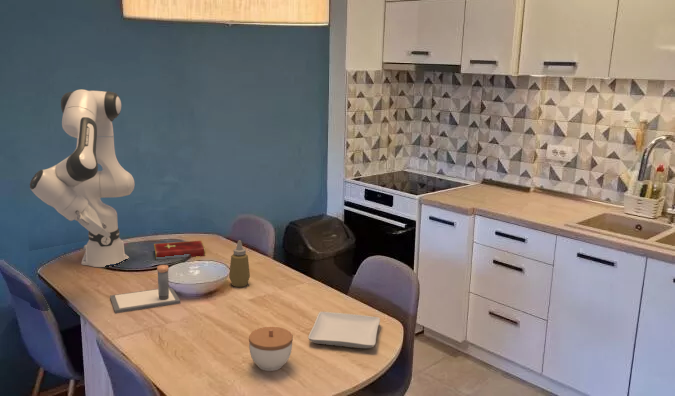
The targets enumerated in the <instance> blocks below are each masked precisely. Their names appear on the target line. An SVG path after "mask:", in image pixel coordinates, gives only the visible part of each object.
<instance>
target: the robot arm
mask: <svg viewBox="0 0 675 396" xmlns="http://www.w3.org/2000/svg"><path fill="white" fill-rule="evenodd" d="M60 108H61V112H62V119H61V127H62V130H63V131H64V132H65V133H66V134H67V135H68V136H69V137H72V138H75V139H76V146H75V147H76V148H75V149H74V151H73V152H72V153H71V154H70V155H69V156H67V157H65V158H64V159H63V160H61V161H60V162H58V163H56V164H54V165H53V166H50V167H49V168H46V169H40V170H38V171H37V172H35V174H34V175H33V177H31V180H30V181H29V182H30V183H29V190H31V191H32V193H33V194H34V195H35V197H37V198H38V199H39V200H41V201H42V202H43V203H44V204H46V205H48V206H50V207H51V208H54V209H55V210H56V212H57V213H58V214H60V215H61V216H63V217H64V219H67V220H68V221H69V222H72V221H74V220H75V221H76V222H78V223H79V224H80V225H81V226H82V227H83V228H85V230H87V232H88V233H87V234H88V241H87V242H86V244H84V245H83V251H85V252H84V255H83V256H82V258H81V259H82V260H81V262H80V263H81V264H80V265H82V266H90V267H95V268H106V267H105V266H106V265H110V264H116V263H119V262H121V261H123V260H125V259H128V258H129V259H130V257H129V256H128V255H127V254H126V253H125V244H124V241H123V240H122V239H121V238H120V228H119V226H118V225H119V224H118V211H117V209H115V208H114V207H113V206H111V205H109V204H107V203H104V202H103V201H102V198H121V197H122V198H123V197H125V196H126V197H127V196H129V195H131V194H132V192H134V190H135V182H136V181H135V179H134V177H133V175H132V173H130V172H129V171H127V170H126V169H124V167H123V166H121V164H120V162H119V161H118V159H117V155H116V149H115V138H114V137H115V135H114V126H113V122H114V120H115V119H117V118H118V117H119V115H120V114H121V110H122V101H121V98H120V96H119V95H118V94H117V92H114V91H109V90H108V91H101V90H87V89H76V90H74V91H68V92H66V93H64V94H63V95H62V97H61V100H60ZM99 165H100V166H101V168H102V170H99ZM129 259H128V260H129ZM123 262H124V261H123Z"/></svg>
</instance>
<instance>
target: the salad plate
mask: <svg viewBox="0 0 675 396" xmlns="http://www.w3.org/2000/svg"><path fill="white" fill-rule="evenodd" d="M380 323H381V317H378V316H370V315H362V314H356V313H353V314H352V313H344V312H343V313H342V312H333V311H332V312H330V311H319V312H318V313H317V317H316V319H315V321H314V324H313V325H312V328H311V330H310V332H309V334H308V336H307V338H308V340H309V341H311V342H312V343H315V344H317V345H318V344H321V345H325V344H326V346H333V345H335V346H334V347H342V346H346V347H345V348H352V347H357V348H356V349H372V348H374V346H376V342H377V335H378V329H379V327H380Z"/></svg>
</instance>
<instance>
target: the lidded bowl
mask: <svg viewBox="0 0 675 396" xmlns="http://www.w3.org/2000/svg"><path fill="white" fill-rule="evenodd" d="M293 338H294V337H293V334H292V332H291V331H290V330H288V329H286V328H283V327H279V326H265V327H260V328H257V329H255V330H253V331H252V332H250V334H249V335H248V341H249V354H250V356H251V359H252V361H253V362H254V364H255V365H256V366H258V368H259V369H260V370H261V371H262V370H263V371H265V372H274V371H279V370H280V369H282V368H283V366H284V365H285V364H286V363H287V362H288V361H289V359H290V356H291V353H292V350H293V340H294V339H293Z"/></svg>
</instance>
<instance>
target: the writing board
mask: <svg viewBox="0 0 675 396" xmlns="http://www.w3.org/2000/svg"><path fill="white" fill-rule="evenodd" d="M170 287H171V286H169V298H168V299H166V300H160V299H159V295H158V288H152V289H146V290H139V291H134V292H133V291H132V292H125V293H118V294H111V295H109V299H110V301H111V304H112V307H113V310H114V313H115V314H119V313H121V314H122V313H125V312H132V311H139V310H146V309H153V308H159V307H166V306H172V305H178V304H181V299H180V298H179V296H178V293H176V291H175V290H174V288H173V287H172V288H173V289H172V288H170Z"/></svg>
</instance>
